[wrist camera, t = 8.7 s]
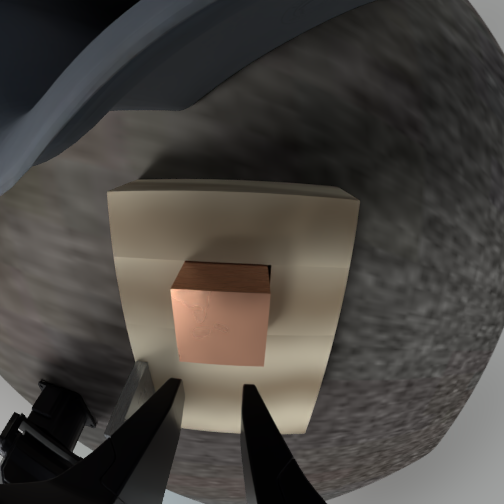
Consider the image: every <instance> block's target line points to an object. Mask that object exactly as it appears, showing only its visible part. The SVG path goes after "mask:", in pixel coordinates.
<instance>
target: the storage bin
mask: <svg viewBox="0 0 504 504" xmlns="http://www.w3.org/2000/svg"><path fill="white" fill-rule="evenodd" d="M373 1H375V0H0V196H1V195H2V194H3V193H5V192H6V191H8V190H9V189H11V187H12V186H13V185H14V184H15V183H16V182H17V181H18V180H19V179H20V178H21V177H22V176H23V175H24V174H25V173H26V172H27V171H28V170H29V169H30V168H31V167H32V166H35V165H38V164H41V163H43V162H46V161H48V160H50V159H52V158H53V157H55V156H57V155H59V154H60V153H62V152H63V151H64V150H66V149H67V148H69V147H70V146H71V145H73V144H74V143H76V142H77V141H78V140H79V139H80V138H81V137H82V136H84V135H85V134H86V133H87V132H88V131H89V130H91V129H92V128H93V127H94V126H95V125H96V124H97V123H98V122H99V121H100V120H101V119H102V118H103V117H104V116H105V115H106V114H107V113H108V112H109V111H114V110H172V111H180V110H184V109H186V108H188V107H190V106H191V105H193V104H194V103H195V102H196V101H198V100H199V99H200V98H202V97H203V96H204V95H205V94H207V93H208V92H209V91H211V90H212V89H213V88H215V87H216V86H217V85H219V84H220V83H222V82H223V81H224V80H226V79H227V78H229V77H230V76H231V75H233V74H234V73H236V72H237V71H239V70H240V69H242V68H243V67H245V66H246V65H248V64H250V63H251V62H253V61H254V60H256V59H258V58H259V57H261V56H262V55H264V54H266V53H267V52H269V51H271V50H273V49H274V48H276V47H278V46H280V45H281V44H283V43H285V42H287V41H289V40H290V39H292V38H294V37H296V36H298V35H300V34H302V33H303V32H305V31H307V30H309V29H311V28H313V27H315V26H317V25H319V24H321V23H323V22H325V21H327V20H329V19H331V18H334V17H336V16H338V15H340V14H342V13H345V12H347V11H349V10H352V9H354V8H356V7H359V6H361V5H364V4H367V3H370V2H373Z"/></svg>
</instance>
